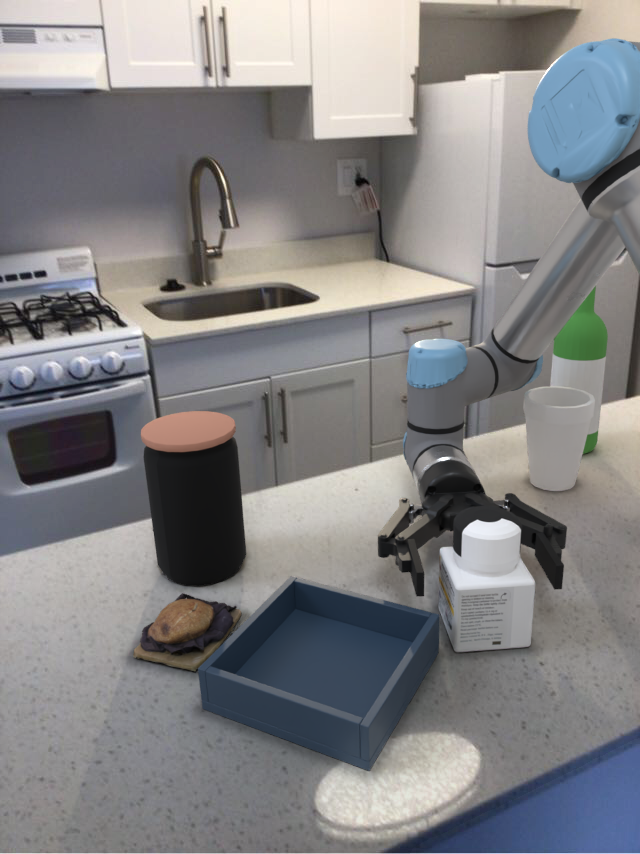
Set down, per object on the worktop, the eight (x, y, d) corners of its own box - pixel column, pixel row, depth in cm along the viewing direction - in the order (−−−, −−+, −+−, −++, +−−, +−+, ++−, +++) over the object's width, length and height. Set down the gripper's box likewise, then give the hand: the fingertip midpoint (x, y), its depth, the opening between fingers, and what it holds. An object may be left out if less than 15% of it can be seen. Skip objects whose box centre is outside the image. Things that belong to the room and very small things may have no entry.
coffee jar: (264, 556, 93) (255, 420, 86) (206, 599, 85) (190, 452, 78) (200, 535, 99) (186, 405, 92) (139, 573, 90) (119, 433, 84)
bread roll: (199, 677, 73) (195, 645, 71) (125, 658, 76) (121, 627, 74) (249, 614, 82) (246, 585, 81) (181, 599, 85) (178, 571, 84)
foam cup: (590, 473, 112) (598, 390, 107) (582, 500, 104) (591, 411, 99) (524, 464, 115) (530, 383, 111) (512, 489, 108) (517, 403, 103)
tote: (439, 652, 75) (439, 614, 73) (369, 771, 61) (368, 727, 59) (293, 611, 82) (291, 575, 80) (202, 709, 68) (197, 668, 67)
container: (437, 608, 81) (439, 500, 77) (508, 603, 82) (514, 495, 77) (454, 654, 74) (458, 537, 70) (531, 648, 75) (540, 532, 70)
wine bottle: (578, 461, 116) (597, 263, 105) (535, 447, 122) (549, 258, 111) (606, 447, 121) (626, 256, 110) (563, 434, 126) (579, 252, 115)
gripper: (546, 509, 95) (612, 607, 75) (348, 518, 95) (362, 620, 75) (550, 454, 92) (620, 540, 73) (346, 464, 92) (361, 553, 72)
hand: (490, 581), depth 74 cm, fingers open, 13 cm apart
